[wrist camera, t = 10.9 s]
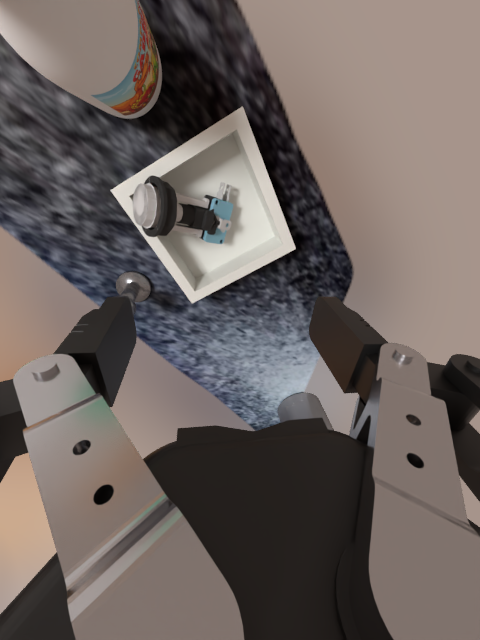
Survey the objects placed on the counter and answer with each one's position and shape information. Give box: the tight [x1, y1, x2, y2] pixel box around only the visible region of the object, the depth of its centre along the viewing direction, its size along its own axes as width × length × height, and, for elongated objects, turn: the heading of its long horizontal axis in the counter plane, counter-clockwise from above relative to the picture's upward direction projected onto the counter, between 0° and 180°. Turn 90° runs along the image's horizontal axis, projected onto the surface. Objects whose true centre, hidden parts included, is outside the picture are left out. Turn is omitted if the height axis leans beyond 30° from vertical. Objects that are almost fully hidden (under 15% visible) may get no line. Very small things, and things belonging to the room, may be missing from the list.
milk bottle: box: [0, 0, 162, 119], centre depth 15 cm, size 8×8×20 cm
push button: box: [133, 175, 233, 244], centre depth 26 cm, size 7×5×10 cm
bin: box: [110, 106, 296, 303], centre depth 29 cm, size 14×14×5 cm
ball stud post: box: [116, 271, 151, 316], centre depth 31 cm, size 4×4×8 cm
